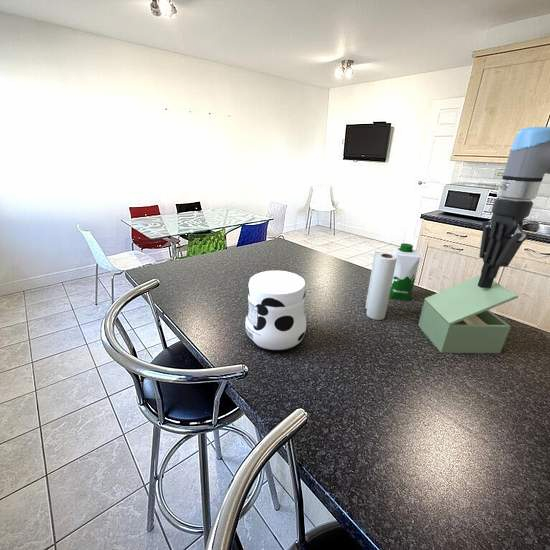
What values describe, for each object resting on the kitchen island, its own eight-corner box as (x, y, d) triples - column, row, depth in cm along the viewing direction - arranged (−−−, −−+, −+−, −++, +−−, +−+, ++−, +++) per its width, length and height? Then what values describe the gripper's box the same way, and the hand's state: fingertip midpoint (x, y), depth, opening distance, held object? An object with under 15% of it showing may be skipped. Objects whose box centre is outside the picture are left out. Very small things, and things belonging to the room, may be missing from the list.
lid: (482, 275, 86) (481, 273, 86) (518, 297, 74) (517, 295, 73) (424, 300, 89) (424, 298, 89) (450, 325, 77) (449, 323, 76)
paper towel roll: (386, 321, 94) (399, 259, 86) (366, 319, 95) (377, 257, 87) (383, 310, 101) (394, 251, 92) (365, 308, 102) (375, 250, 93)
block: (470, 330, 89) (475, 315, 87) (482, 342, 84) (488, 325, 82) (452, 330, 89) (457, 314, 87) (463, 342, 84) (469, 325, 81)
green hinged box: (469, 325, 93) (477, 301, 89) (500, 353, 81) (511, 326, 77) (417, 325, 93) (424, 300, 89) (440, 352, 80) (449, 325, 77)
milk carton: (407, 293, 113) (418, 244, 105) (411, 304, 105) (424, 252, 97) (383, 290, 115) (393, 242, 107) (386, 301, 107) (396, 249, 99)
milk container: (311, 327, 90) (315, 274, 83) (295, 363, 75) (299, 301, 68) (259, 316, 95) (259, 265, 88) (235, 347, 80) (232, 289, 73)
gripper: (481, 194, 76) (456, 276, 86) (520, 203, 64) (486, 297, 74) (509, 195, 76) (481, 277, 86) (553, 203, 64) (515, 298, 74)
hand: (484, 286), depth 80 cm, fingers closed
